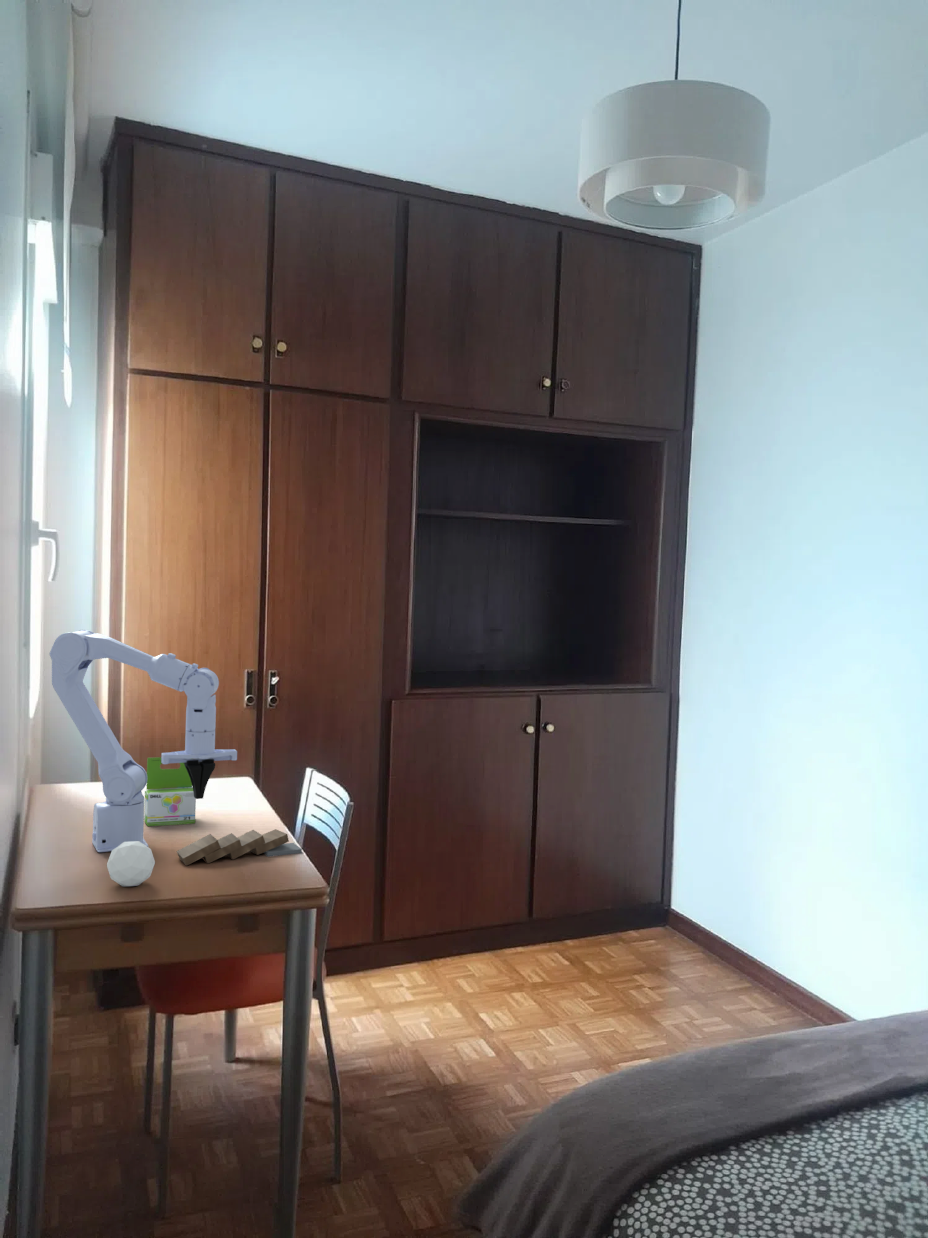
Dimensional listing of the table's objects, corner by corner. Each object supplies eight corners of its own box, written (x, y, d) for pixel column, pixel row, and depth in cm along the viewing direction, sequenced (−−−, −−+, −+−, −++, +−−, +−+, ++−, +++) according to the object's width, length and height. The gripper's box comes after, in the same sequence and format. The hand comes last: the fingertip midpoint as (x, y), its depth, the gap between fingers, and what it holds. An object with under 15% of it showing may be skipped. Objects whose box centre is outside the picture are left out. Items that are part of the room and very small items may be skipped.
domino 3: (230, 852, 184) (262, 835, 188) (221, 846, 188) (253, 829, 192) (232, 859, 184) (265, 842, 188) (223, 853, 189) (255, 836, 192)
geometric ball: (142, 899, 168) (169, 866, 167) (103, 893, 163) (130, 858, 162) (131, 868, 174) (157, 836, 172) (92, 860, 168) (119, 827, 167)
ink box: (146, 827, 205) (147, 762, 205) (143, 820, 210) (145, 757, 210) (195, 823, 210) (197, 760, 209) (192, 817, 215) (193, 755, 214)
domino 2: (205, 856, 181) (239, 839, 184) (197, 849, 185) (231, 833, 189) (207, 863, 182) (242, 847, 185) (200, 856, 186) (234, 840, 189)
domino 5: (259, 854, 192) (292, 850, 195) (267, 861, 187) (301, 857, 191) (259, 846, 192) (293, 842, 195) (267, 853, 187) (301, 849, 191)
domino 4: (255, 847, 187) (287, 834, 191) (244, 842, 191) (275, 829, 195) (257, 855, 187) (288, 841, 191) (246, 849, 191) (277, 836, 195)
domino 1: (183, 858, 179) (217, 840, 182) (176, 851, 183) (210, 833, 187) (186, 866, 180) (220, 847, 183) (179, 858, 184) (213, 841, 187)
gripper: (167, 734, 184) (165, 805, 185) (242, 731, 191) (240, 799, 192) (159, 729, 190) (158, 797, 191) (232, 726, 197) (230, 791, 198)
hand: (198, 797), depth 192 cm, fingers closed
